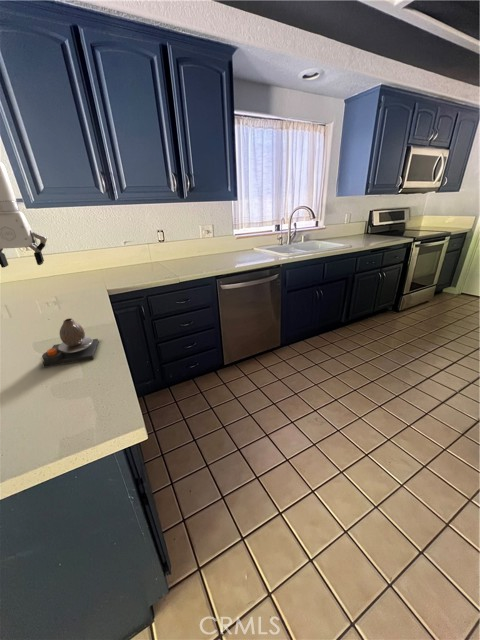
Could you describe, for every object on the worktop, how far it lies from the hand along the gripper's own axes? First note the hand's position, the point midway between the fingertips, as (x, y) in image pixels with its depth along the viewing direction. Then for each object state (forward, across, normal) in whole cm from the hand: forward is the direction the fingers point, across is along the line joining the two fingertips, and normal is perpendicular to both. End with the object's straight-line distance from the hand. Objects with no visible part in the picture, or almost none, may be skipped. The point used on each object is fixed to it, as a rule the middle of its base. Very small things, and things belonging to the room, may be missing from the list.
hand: (23, 265), depth 85 cm
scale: (+28, +10, -12) cm, 32 cm away
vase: (+25, +11, -12) cm, 30 cm away
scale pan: (+25, +11, -12) cm, 30 cm away
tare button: (+26, +6, -16) cm, 31 cm away
